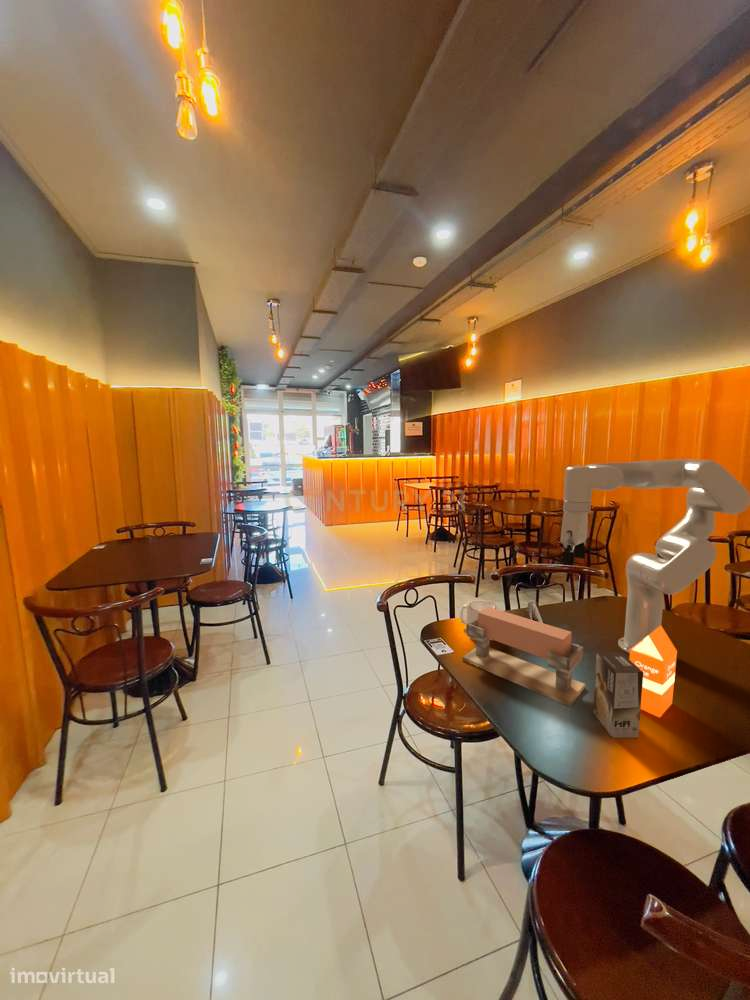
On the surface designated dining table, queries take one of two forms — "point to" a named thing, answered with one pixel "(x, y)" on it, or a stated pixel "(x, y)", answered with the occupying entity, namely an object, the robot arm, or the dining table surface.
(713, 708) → the dining table surface
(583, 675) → the dining table surface
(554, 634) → the rail
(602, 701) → the coffee box
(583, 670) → the dining table surface
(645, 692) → the orange juice
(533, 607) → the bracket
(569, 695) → the cradle stand
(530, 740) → the dining table surface
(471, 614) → the mug
